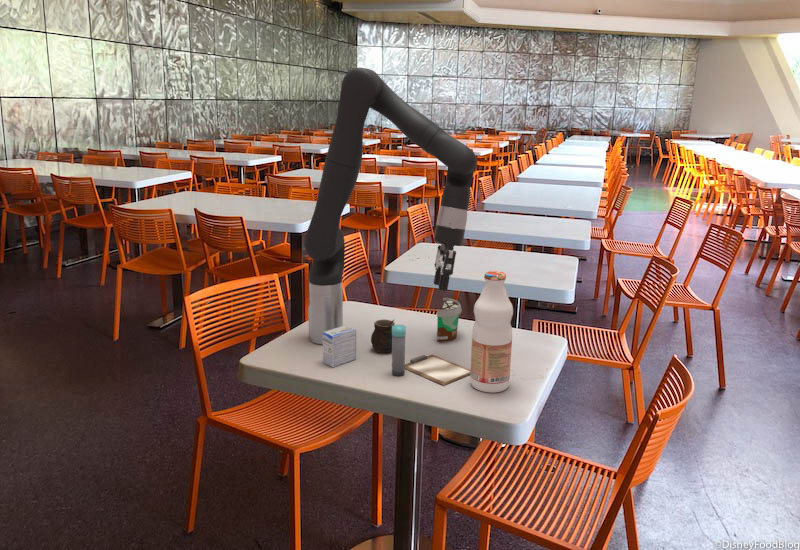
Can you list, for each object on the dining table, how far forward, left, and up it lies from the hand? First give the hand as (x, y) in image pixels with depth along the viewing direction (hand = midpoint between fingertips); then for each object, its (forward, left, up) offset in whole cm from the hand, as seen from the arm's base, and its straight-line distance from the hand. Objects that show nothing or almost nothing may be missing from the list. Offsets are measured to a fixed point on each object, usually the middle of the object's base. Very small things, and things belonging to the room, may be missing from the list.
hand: (440, 287), depth 165 cm
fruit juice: (+20, -3, -20) cm, 28 cm away
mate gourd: (-13, -7, -20) cm, 25 cm away
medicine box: (-15, -21, -20) cm, 33 cm away
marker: (+1, -15, -19) cm, 25 cm away
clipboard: (+6, -6, -19) cm, 21 cm away
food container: (-8, +14, -20) cm, 25 cm away
